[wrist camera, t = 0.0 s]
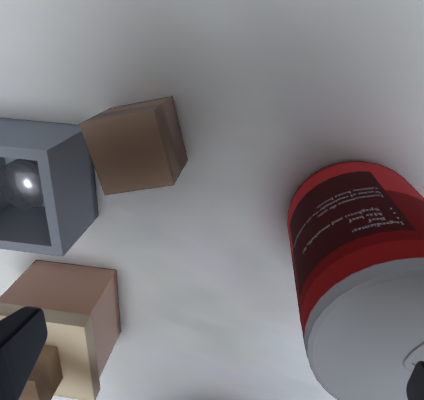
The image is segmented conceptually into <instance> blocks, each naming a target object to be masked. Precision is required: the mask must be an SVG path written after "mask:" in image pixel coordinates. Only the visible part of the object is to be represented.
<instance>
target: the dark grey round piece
mask: <svg viewBox="0 0 424 400" xmlns="http://www.w3.org/2000/svg"><path fill="white" fill-rule="evenodd" d="M0 193H1V194H2V196H3V197H4V198H5V199H6V200H7V201H8V202H9V203H10V204H12V205H13V206H15V207H18V208H20V209H25V210H31V209H35V208H37V207H39V206H40V205H41V204H42V203H44V198H43V192H42V186H41V180H40V174H39V168H38V163H37V161H35V160H25V159H16V160H14V161H12V162H10V163H8V164H6V165H5V166H3V167H2V168H1V169H0Z"/></svg>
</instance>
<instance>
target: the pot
mask: <svg viewBox="0 0 424 400" xmlns="http://www.w3.org/2000/svg"><path fill="white" fill-rule="evenodd" d="M0 303H6V304H13V305H21V306H31V307H38V308H42V309H49V310H57V311H64V312H71V313H78V314H85V315H91V316H92V324H93V333H94V341H95V349H96V357H97V366H98V374H99V378H100V375H101V373H102V371H103V369H104V367H105V365H106V362H107V360H108V358H109V356H110V354H111V352H112V349H113V347H114V345H115V343H116V341H117V339H118V336H119V334H120V332H121V330H120V316H119V303H118V289H117V276H116V270H111V269H103V268H95V267H87V266H79V265H71V264H63V263H55V262H48V261H40V260H36V261H35V262H34V263H33V264H32V265H31V266H30V267H29V268H28V269H27V270H26V271H25V272H24V273H23V274H22V275H21V276H20V277H19V278H18V279H17V280H16V281H15V282H14V283H13V284H12V285H11V286H10V288H9V289H8V290H7V291H6V292H5V293H4V294H3V295H2V296H1V297H0Z"/></svg>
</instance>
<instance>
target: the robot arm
mask: <svg viewBox="0 0 424 400" xmlns="http://www.w3.org/2000/svg"><path fill="white" fill-rule="evenodd" d="M47 335H48V331H47V326H46V321H45V316H44V311H43V310H42V309H41V308H38V307H31V306H25V307H23V308H21V309H19V310H17V311H15V312H14V313H12V314H10V315H8V316H7V317H5V318H3V319H2V320H0V400H19V398H20V396H21V394H22V392H23V390H24V388H25V385H26V383H27V381H28V379H29V377H30V375H31V372H32V370H33V368H34V366H35V364H36V362H37V360H38V357H39V355H40V353H41V351H42V349H43V347H44V345H45V342H46V340H47ZM406 393H407V398H408V400H424V361H419V362H417V363H416V365H415V367H414V369H413V371H412V374H411V376H410V378H409V380H408V382H407V386H406Z"/></svg>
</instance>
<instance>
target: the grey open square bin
mask: <svg viewBox="0 0 424 400" xmlns="http://www.w3.org/2000/svg"><path fill="white" fill-rule="evenodd" d="M16 159H25V160H35V161H37V163H38V168H39V174H40V180H41V186H42V192H43V198H44V203H42V204H41V205H40V206H39V207H37V208H35V209H31V210H25V209H20V208H18V207H15V206H13V205H12V204H10V203H9V202H8V201H7V200H6V199H5V198H4V197H3V196H2V194H1V193H0V249H7V250H15V251H23V252H31V253H39V254H47V255H55V256H64V255H65V254H66V252H67V251H68V250H69V249H70V248H71V247H72V246H73V244H74V243H75V242H76V241H77V240H78V239H79V238H80V236H81V235H82V234H83V233H84V232H85V231H86V229H87V228H88V227H89V226H90V225H91V224H92V223H93V221H94V220H95V219H96V218H97V217H98V206H97V196H96V185H95V174H94V164H93V161H92V158H91V155H90V153H89V150H88V147H87V144H86V141H85V139H84V136H83V133H82V130H81V127H80V125H72V124H61V123H50V122H39V121H29V120H18V119H7V118H0V169H1V168H2V167H3V166H5V165H6V164H8V163H10V162H12V161H14V160H16Z"/></svg>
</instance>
